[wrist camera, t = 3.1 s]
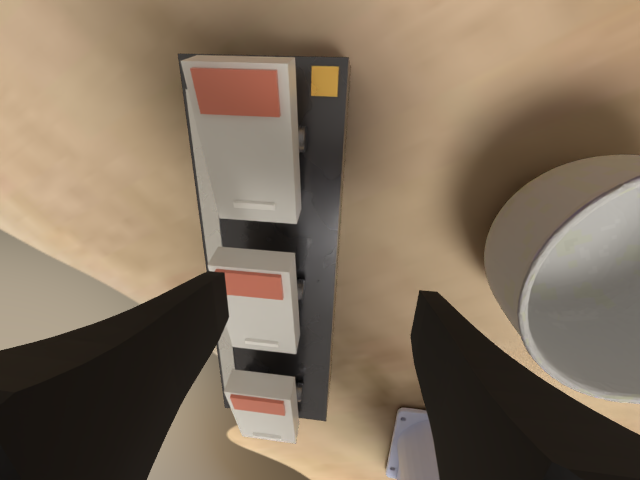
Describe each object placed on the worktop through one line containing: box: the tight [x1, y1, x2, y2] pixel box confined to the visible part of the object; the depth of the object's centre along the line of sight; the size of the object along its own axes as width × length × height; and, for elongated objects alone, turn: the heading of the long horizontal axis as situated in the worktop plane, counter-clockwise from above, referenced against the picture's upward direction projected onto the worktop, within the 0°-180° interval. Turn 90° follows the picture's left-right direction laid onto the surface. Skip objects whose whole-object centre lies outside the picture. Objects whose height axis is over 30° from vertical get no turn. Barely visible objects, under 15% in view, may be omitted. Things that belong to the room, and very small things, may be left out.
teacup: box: [484, 155, 640, 404], centre depth 15 cm, size 14×11×8 cm
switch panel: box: [178, 54, 351, 421], centre depth 20 cm, size 24×8×5 cm, turn 178°
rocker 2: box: [207, 247, 300, 354], centre depth 17 cm, size 7×4×2 cm, turn 178°
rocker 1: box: [181, 55, 301, 224], centre depth 14 cm, size 7×4×2 cm, turn 178°
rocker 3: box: [224, 369, 299, 444], centre depth 21 cm, size 7×4×2 cm, turn 178°
